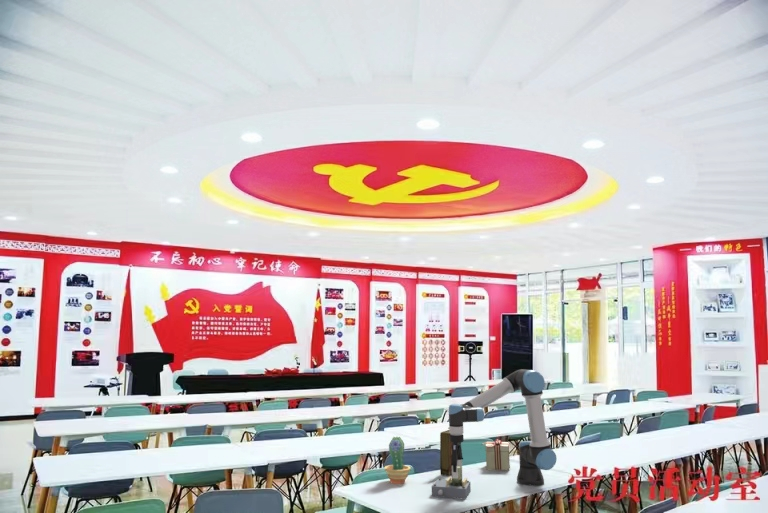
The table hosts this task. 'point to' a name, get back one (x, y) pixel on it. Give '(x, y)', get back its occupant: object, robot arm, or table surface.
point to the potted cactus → (397, 462)
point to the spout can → (458, 481)
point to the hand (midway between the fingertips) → (457, 475)
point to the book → (445, 453)
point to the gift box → (497, 455)
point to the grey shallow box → (450, 489)
